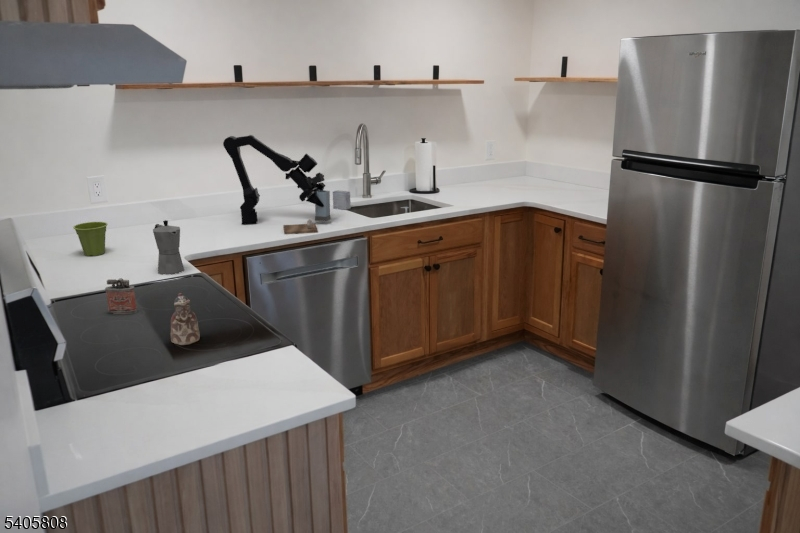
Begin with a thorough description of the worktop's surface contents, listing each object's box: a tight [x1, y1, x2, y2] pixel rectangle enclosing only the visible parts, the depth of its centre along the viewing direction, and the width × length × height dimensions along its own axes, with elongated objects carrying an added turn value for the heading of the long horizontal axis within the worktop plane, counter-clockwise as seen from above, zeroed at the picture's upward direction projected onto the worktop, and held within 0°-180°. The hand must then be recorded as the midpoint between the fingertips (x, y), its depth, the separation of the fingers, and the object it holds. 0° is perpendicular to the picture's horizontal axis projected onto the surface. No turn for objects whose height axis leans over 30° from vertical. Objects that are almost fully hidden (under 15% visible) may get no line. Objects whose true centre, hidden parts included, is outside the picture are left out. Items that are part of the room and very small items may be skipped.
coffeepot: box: [152, 219, 185, 275], centre depth 227 cm, size 15×9×18 cm, turn 44°
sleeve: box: [314, 189, 331, 222], centre depth 295 cm, size 5×5×13 cm
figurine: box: [170, 292, 201, 346], centre depth 169 cm, size 7×7×12 cm
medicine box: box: [332, 189, 352, 211], centre depth 327 cm, size 8×4×9 cm, turn 58°
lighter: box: [104, 277, 138, 315], centre depth 189 cm, size 8×3×10 cm, turn 92°
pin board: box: [282, 219, 319, 235], centre depth 284 cm, size 14×13×5 cm
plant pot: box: [72, 221, 108, 257], centre depth 249 cm, size 12×12×11 cm
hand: (325, 205), depth 295 cm, fingers closed on sleeve, 5 cm apart
